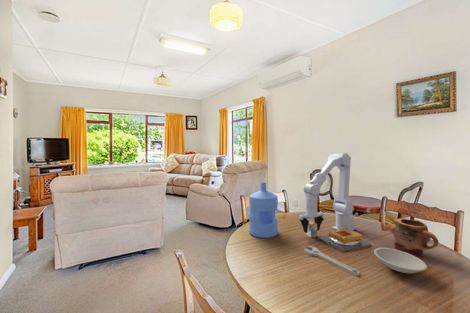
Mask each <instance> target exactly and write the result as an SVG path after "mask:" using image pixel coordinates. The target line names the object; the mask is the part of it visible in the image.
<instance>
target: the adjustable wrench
mask: <svg viewBox="0 0 470 313" xmlns="http://www.w3.org/2000/svg"><path fill="white" fill-rule="evenodd" d="M304 253H305V254H307V255H309V256H311V257H312V256H313V257H317V258H320V259H322V260H324V261H326V262H327V263H329V264H332V265H334V266H335V267H336V268H338V269H339V268H340V269H341V270H343V271H345V272H347V273H348V274H350V275H353V276H360V271H359V270H358V269H356V268H354V267H351V266H349V265H347V264H345V263H343V262H342V261H339V260H337V259H335V258H333V257H330V256H329V255H326V254H325V253H323V252H321V251H320V250H319V249H318V248H317V247H315V246H311V245H306V248H304ZM309 256H308V257H309Z"/></svg>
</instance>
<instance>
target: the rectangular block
mask: <svg viewBox="0 0 470 313" xmlns="http://www.w3.org/2000/svg"><path fill="white" fill-rule="evenodd" d="M305 236H308V237H309V238H315V237H317V238H318V231H317V223H315V221H313V220H312V221H310V220H309V224H308V232H307V233H305Z"/></svg>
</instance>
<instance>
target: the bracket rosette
mask: <svg viewBox="0 0 470 313" xmlns="http://www.w3.org/2000/svg"><path fill="white" fill-rule="evenodd" d="M363 237H364V236H363V234H362V233H359V232H357V231H354V230H349V229H347V228H346V229H340V230H337V229H335V230H331V231H328V235H322V236H317V240H319V241H321V242H322V243H324V244H326V245H328V246H330V247H332V248H334V249H336V250H337V251H339V252H342V253H347V252H351V251H356V250H359V249H364V248H369V247H371V246H372V243H370V242H368V241H365V240H364V239H363Z"/></svg>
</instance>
